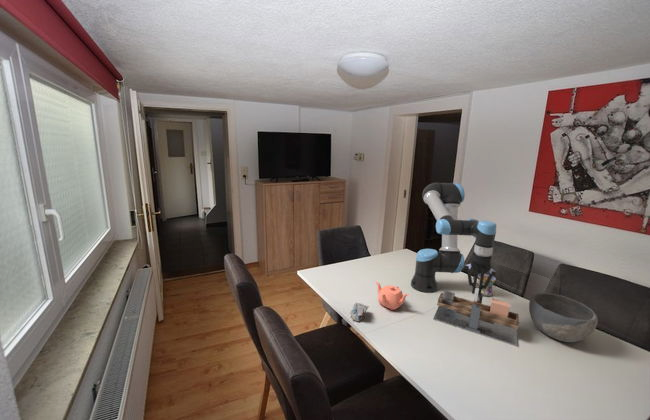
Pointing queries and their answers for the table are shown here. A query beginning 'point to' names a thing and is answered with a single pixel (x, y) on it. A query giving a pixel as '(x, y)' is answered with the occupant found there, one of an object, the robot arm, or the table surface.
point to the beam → (465, 308)
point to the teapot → (390, 296)
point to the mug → (489, 288)
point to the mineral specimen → (358, 311)
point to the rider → (499, 307)
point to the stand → (477, 324)
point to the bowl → (562, 317)
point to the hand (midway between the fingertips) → (475, 299)
